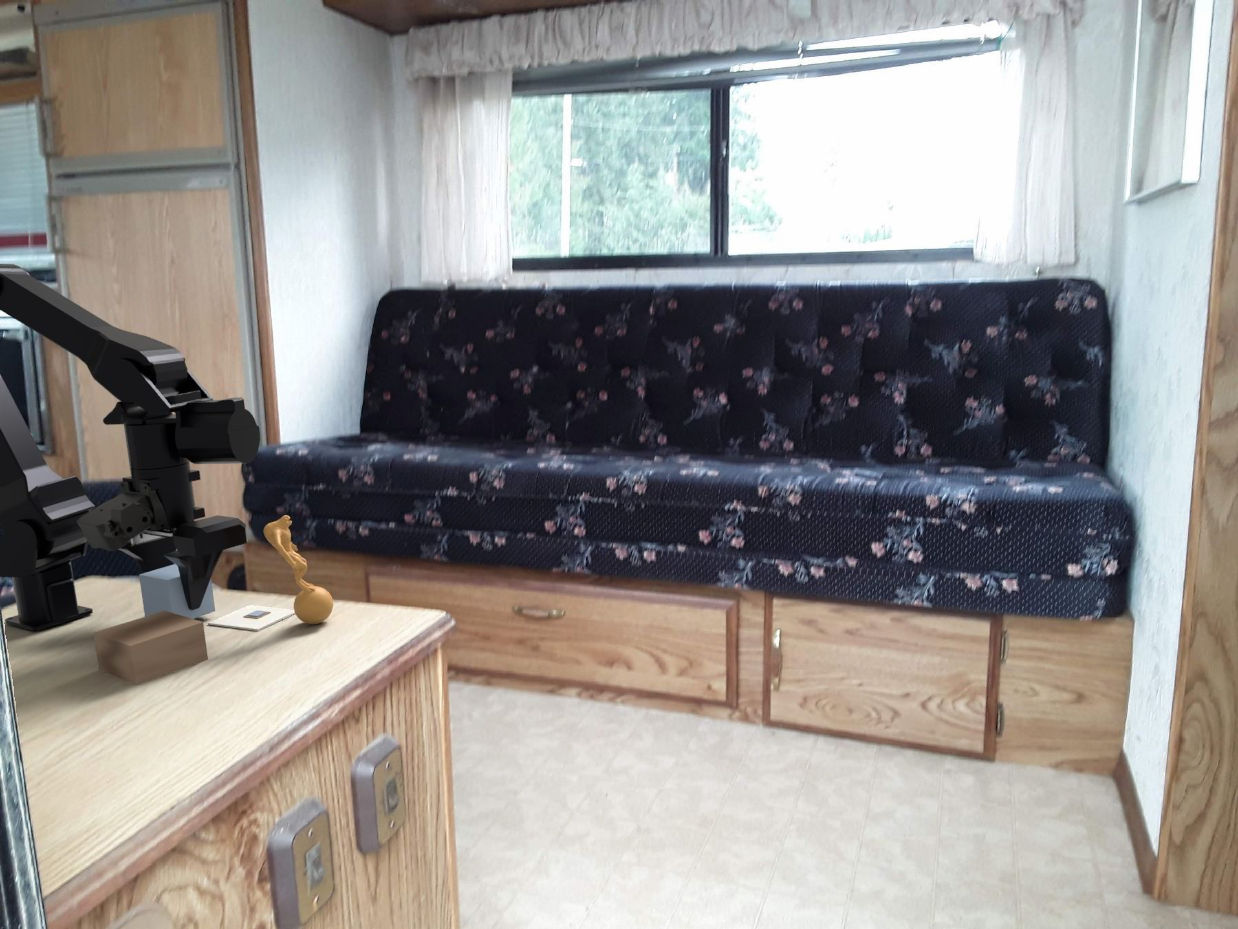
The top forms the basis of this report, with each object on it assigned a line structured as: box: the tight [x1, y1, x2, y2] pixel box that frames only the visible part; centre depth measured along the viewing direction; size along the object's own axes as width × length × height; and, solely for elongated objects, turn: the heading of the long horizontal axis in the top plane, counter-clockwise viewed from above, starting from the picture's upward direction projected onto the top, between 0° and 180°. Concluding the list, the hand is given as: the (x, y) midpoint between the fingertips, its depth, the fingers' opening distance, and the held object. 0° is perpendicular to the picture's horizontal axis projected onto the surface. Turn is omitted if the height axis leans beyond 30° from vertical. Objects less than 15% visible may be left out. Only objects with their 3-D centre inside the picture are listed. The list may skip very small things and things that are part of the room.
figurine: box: [263, 514, 334, 625], centre depth 98 cm, size 8×6×12 cm
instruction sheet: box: [207, 604, 296, 632], centre depth 102 cm, size 7×6×1 cm
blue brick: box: [138, 564, 216, 620], centre depth 102 cm, size 5×5×5 cm
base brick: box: [92, 611, 209, 686], centre depth 90 cm, size 7×7×4 cm
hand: (179, 605), depth 102 cm, fingers closed on blue brick, 5 cm apart
